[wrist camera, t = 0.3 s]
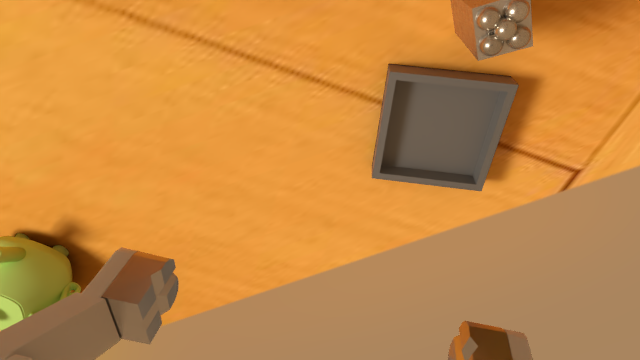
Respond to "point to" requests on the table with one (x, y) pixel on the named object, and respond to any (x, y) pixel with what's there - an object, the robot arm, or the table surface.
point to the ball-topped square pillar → (493, 25)
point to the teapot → (31, 277)
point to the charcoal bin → (440, 126)
